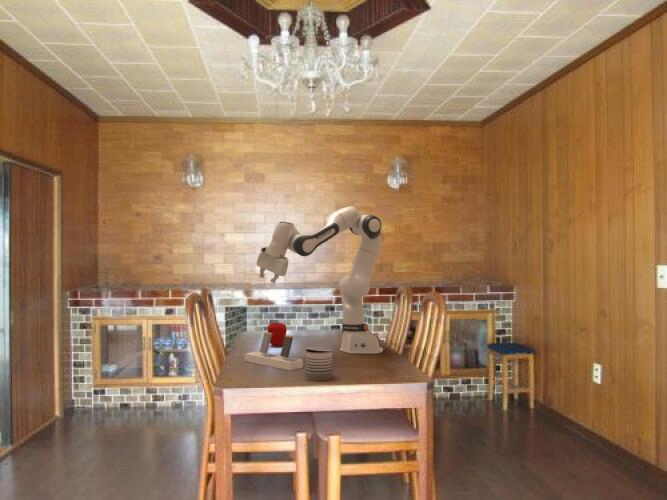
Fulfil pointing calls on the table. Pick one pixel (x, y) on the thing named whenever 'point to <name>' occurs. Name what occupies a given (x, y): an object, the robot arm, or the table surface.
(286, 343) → the black rocker
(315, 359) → the can
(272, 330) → the red rounded lump
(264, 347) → the grey rocker
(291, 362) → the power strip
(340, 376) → the table surface
